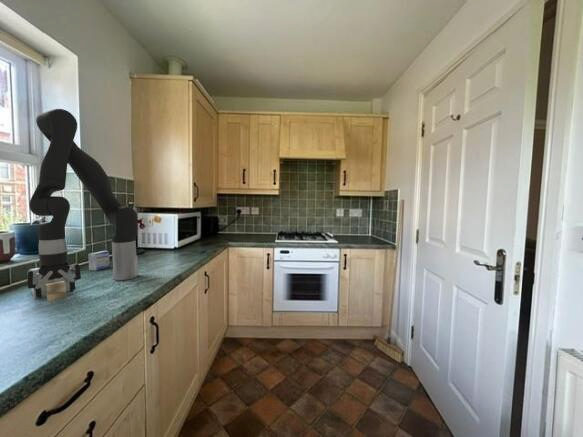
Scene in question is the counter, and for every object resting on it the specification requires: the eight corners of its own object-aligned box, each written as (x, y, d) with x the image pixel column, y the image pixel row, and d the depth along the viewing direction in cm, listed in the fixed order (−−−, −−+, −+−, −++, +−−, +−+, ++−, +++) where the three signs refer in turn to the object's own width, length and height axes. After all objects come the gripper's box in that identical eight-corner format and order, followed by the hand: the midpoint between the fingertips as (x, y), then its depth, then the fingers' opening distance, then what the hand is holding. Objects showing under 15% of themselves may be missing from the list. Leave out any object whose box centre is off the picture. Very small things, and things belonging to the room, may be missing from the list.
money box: (67, 284, 110) (66, 263, 109) (72, 290, 102) (71, 268, 102) (31, 291, 101) (29, 268, 101) (34, 298, 94) (32, 274, 93)
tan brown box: (65, 296, 97) (64, 280, 96) (66, 298, 95) (65, 282, 94) (46, 300, 93) (45, 284, 93) (48, 302, 91) (46, 286, 91)
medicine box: (96, 270, 129) (95, 254, 129) (88, 270, 130) (87, 253, 130) (109, 266, 137) (109, 250, 136) (103, 266, 138) (102, 250, 137)
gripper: (76, 247, 100) (78, 287, 102) (24, 252, 90) (27, 297, 91) (80, 249, 95) (83, 292, 97) (25, 256, 85) (29, 303, 86)
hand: (56, 294), depth 94 cm, fingers open, 8 cm apart
